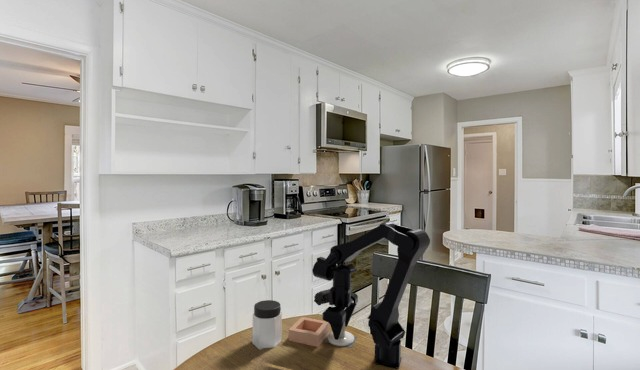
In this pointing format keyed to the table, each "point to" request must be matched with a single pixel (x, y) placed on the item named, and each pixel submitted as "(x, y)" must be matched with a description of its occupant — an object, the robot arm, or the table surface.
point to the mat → (345, 346)
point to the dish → (309, 331)
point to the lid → (341, 338)
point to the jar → (267, 324)
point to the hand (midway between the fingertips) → (341, 332)
